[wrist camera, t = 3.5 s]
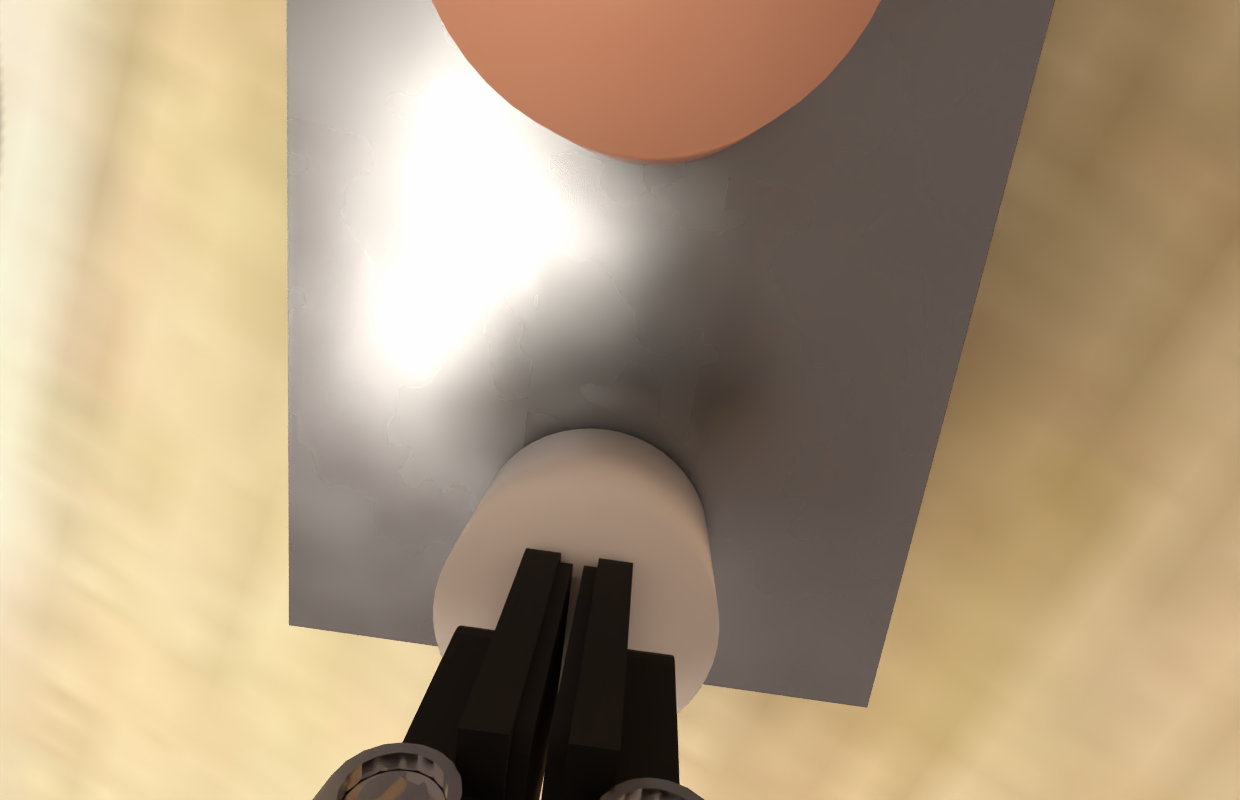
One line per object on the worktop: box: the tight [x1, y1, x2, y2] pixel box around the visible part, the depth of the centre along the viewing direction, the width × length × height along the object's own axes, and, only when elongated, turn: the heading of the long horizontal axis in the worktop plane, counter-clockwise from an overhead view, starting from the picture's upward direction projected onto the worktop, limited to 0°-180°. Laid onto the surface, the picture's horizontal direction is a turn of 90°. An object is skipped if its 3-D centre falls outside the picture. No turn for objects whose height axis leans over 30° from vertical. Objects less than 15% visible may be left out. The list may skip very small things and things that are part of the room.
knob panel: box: [287, 0, 1055, 707], centre depth 14 cm, size 24×12×5 cm, turn 173°
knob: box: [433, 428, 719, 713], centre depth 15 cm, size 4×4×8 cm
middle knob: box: [431, 0, 881, 166], centre depth 10 cm, size 4×4×8 cm
